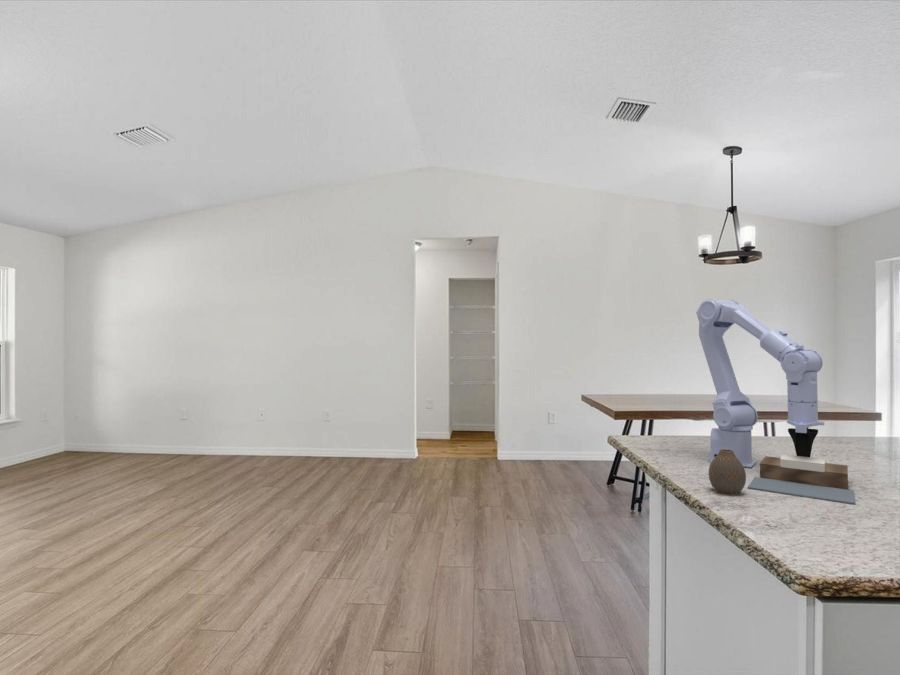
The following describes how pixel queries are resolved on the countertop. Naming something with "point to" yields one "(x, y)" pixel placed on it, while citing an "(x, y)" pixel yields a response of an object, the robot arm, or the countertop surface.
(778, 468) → the block
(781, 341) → the robot arm
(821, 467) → the tile
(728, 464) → the vase
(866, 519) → the countertop surface
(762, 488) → the mat
